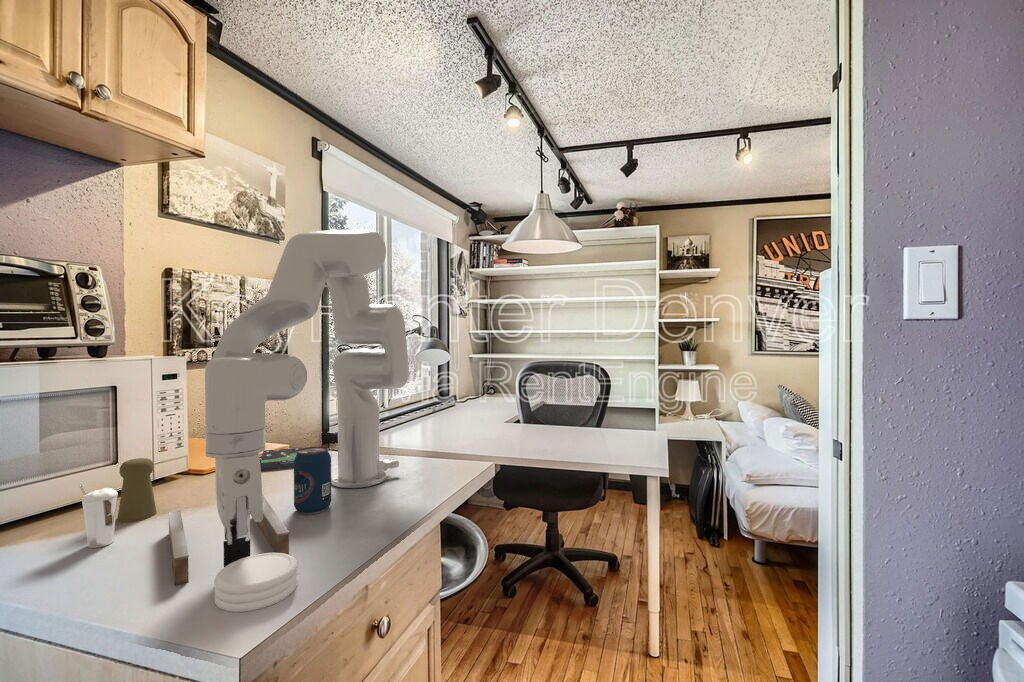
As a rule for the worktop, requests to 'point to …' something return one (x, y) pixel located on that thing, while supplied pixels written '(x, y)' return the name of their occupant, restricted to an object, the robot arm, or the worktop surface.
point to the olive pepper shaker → (136, 491)
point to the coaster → (255, 582)
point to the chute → (179, 552)
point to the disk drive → (278, 459)
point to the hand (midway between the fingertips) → (237, 567)
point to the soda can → (312, 480)
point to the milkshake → (99, 516)
